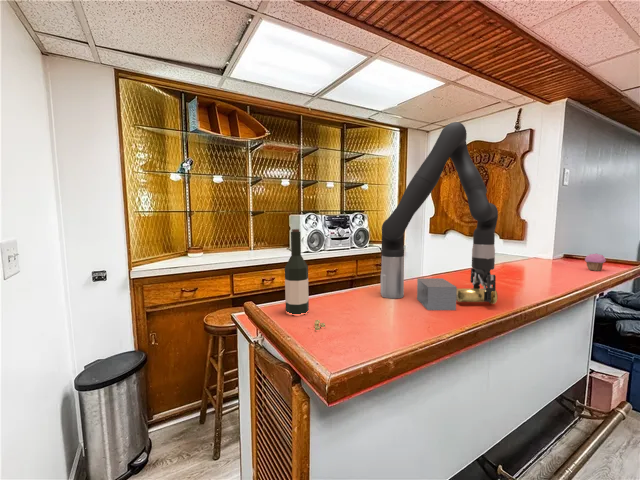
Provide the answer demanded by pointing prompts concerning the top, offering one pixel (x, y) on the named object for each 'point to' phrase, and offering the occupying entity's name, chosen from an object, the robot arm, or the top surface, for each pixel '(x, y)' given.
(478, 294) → the end cap
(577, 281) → the top surface
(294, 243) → the wine bottle
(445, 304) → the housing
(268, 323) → the top surface
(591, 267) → the cupcake
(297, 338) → the top surface
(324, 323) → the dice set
